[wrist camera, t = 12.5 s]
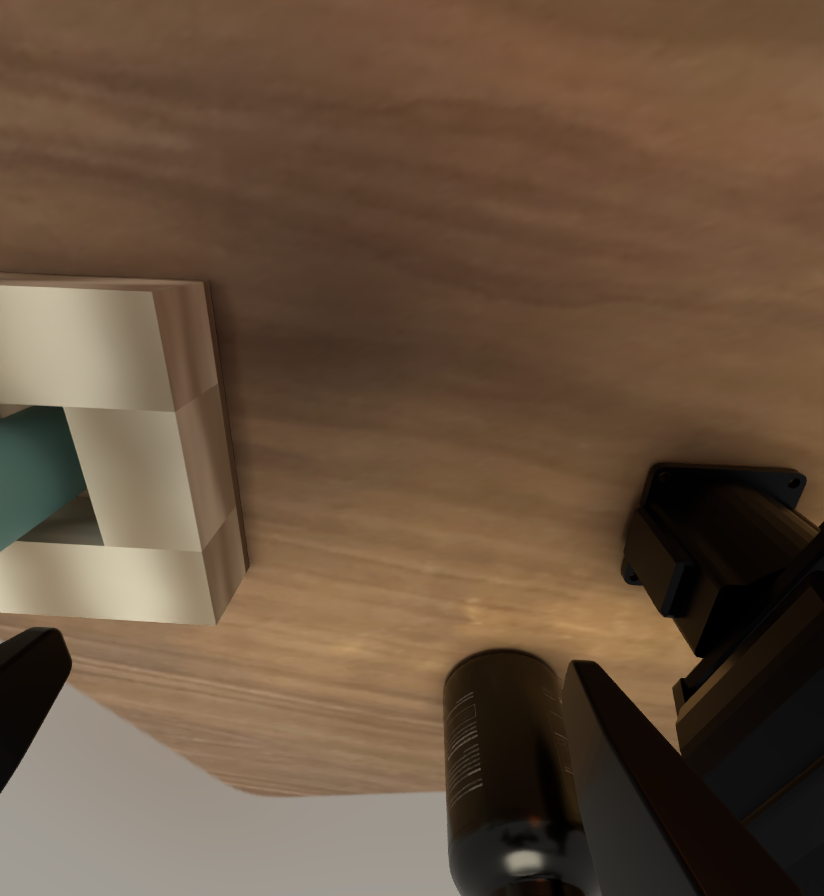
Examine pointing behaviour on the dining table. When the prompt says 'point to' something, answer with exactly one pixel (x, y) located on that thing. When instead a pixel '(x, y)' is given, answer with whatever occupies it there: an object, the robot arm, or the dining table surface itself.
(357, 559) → the dining table surface
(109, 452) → the cream square wooden frame
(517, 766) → the supplement bottle
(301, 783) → the dining table surface
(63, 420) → the teal cylinder
